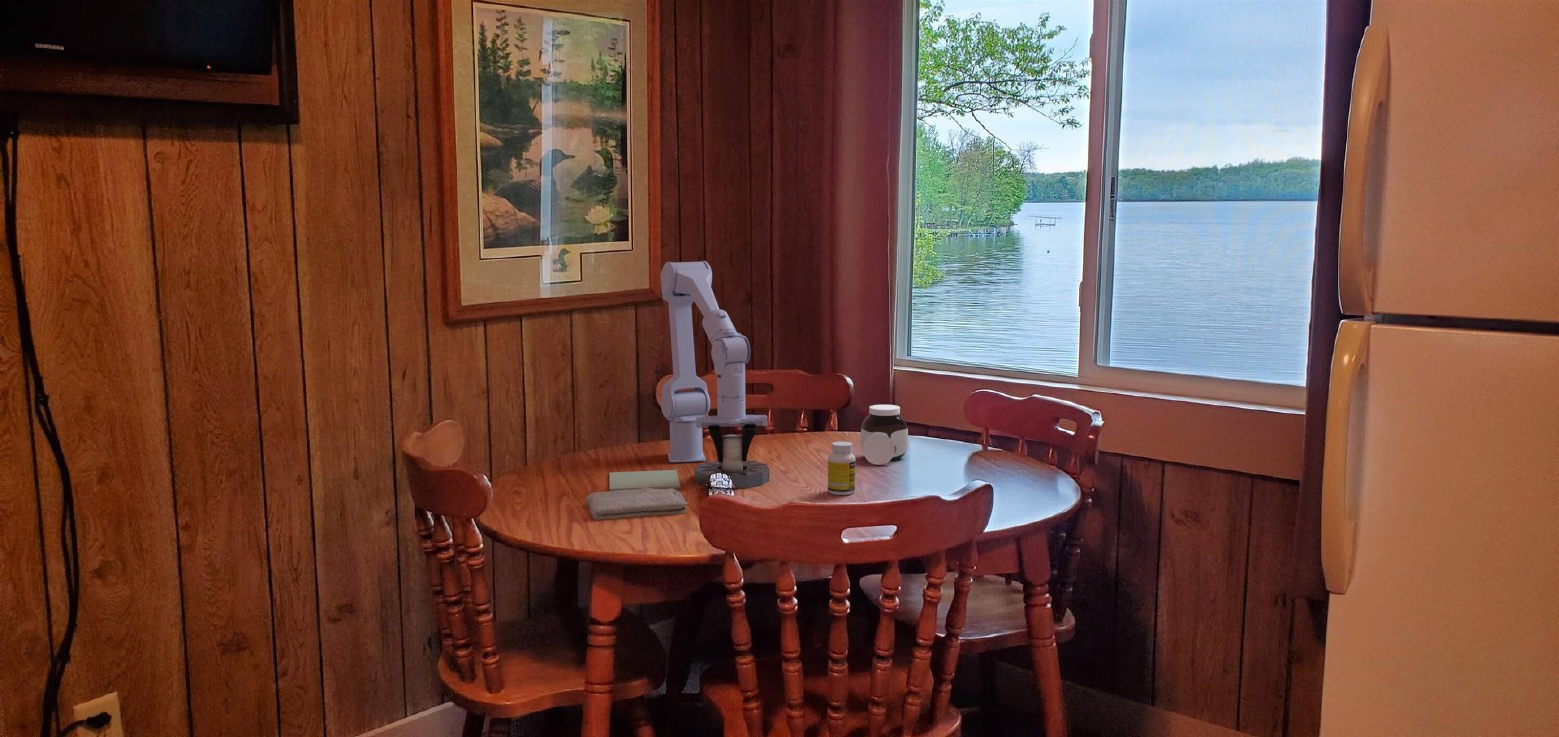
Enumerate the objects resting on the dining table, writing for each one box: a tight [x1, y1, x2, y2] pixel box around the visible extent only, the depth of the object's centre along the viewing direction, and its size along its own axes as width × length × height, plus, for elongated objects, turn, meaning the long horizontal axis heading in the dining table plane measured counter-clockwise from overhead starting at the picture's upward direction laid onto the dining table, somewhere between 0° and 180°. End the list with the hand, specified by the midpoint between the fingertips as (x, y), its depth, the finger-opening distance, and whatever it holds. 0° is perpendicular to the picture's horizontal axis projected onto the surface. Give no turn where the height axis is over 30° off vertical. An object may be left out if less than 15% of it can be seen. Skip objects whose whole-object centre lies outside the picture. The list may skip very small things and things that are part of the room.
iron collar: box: [694, 459, 770, 489], centre depth 224 cm, size 15×15×2 cm
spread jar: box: [860, 404, 909, 466], centre depth 240 cm, size 12×11×12 cm
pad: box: [609, 469, 681, 491], centre depth 223 cm, size 14×14×1 cm
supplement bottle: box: [827, 441, 856, 496], centre depth 212 cm, size 5×5×10 cm
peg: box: [721, 434, 743, 471], centre depth 223 cm, size 4×4×9 cm
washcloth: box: [585, 487, 689, 521], centre depth 202 cm, size 12×18×3 cm, turn 106°
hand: (732, 461), depth 223 cm, fingers closed on peg, 4 cm apart
